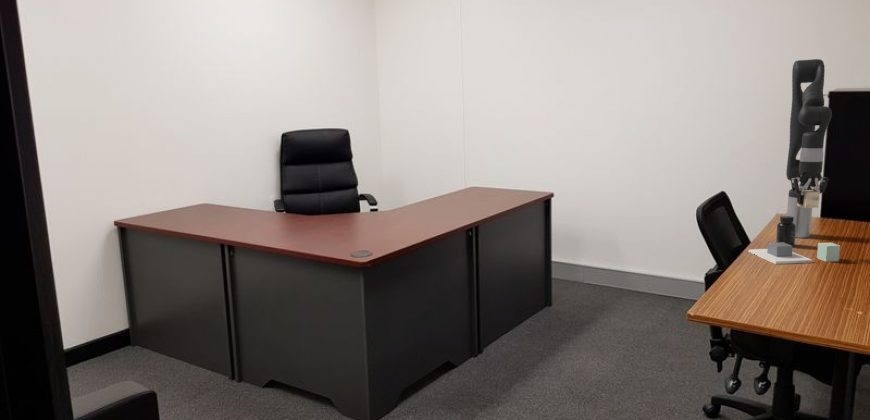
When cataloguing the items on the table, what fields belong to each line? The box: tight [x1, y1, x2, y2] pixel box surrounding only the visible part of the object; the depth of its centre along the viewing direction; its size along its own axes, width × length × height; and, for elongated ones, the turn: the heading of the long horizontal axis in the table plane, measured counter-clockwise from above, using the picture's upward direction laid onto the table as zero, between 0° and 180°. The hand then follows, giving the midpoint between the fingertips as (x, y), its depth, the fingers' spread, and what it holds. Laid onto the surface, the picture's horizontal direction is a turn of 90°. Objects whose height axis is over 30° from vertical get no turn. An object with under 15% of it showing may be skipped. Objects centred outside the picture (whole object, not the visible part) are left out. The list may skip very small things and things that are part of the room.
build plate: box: [748, 242, 813, 265], centre depth 236 cm, size 18×14×5 cm
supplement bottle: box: [775, 215, 796, 247], centre depth 253 cm, size 7×7×12 cm
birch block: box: [797, 190, 821, 209], centre depth 236 cm, size 5×5×6 cm
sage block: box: [816, 241, 841, 263], centre depth 231 cm, size 5×5×6 cm
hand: (807, 204), depth 236 cm, fingers closed on birch block, 5 cm apart
